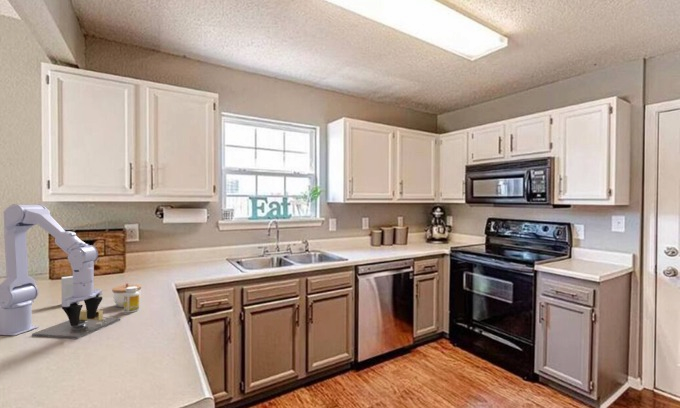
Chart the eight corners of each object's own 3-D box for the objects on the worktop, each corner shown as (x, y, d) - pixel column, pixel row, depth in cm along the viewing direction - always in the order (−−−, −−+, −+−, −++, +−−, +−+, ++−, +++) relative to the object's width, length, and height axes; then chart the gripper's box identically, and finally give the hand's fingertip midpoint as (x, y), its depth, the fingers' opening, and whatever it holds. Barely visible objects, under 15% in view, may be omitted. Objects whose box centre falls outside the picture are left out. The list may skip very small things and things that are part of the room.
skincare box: (78, 301, 152) (78, 275, 152) (79, 303, 149) (79, 276, 149) (61, 304, 148) (61, 277, 148) (62, 306, 145) (62, 278, 145)
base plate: (32, 335, 112) (32, 329, 112) (80, 318, 130) (80, 312, 130) (77, 338, 110) (77, 332, 110) (120, 320, 128) (120, 314, 128)
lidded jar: (106, 307, 144) (106, 285, 144) (130, 300, 154) (130, 280, 154) (123, 309, 140) (123, 287, 140) (146, 303, 150) (146, 282, 150)
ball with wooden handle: (65, 323, 117) (65, 312, 117) (78, 318, 123) (78, 308, 123) (95, 324, 117) (95, 313, 117) (106, 319, 122) (106, 308, 122)
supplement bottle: (121, 313, 136) (121, 289, 136) (128, 308, 141) (128, 286, 142) (135, 312, 137) (135, 289, 137) (141, 308, 142) (141, 285, 142)
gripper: (76, 287, 107) (76, 330, 107) (110, 277, 121) (110, 315, 121) (55, 286, 107) (55, 329, 107) (91, 277, 122) (91, 314, 122)
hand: (83, 321), depth 114 cm, fingers open, 6 cm apart
